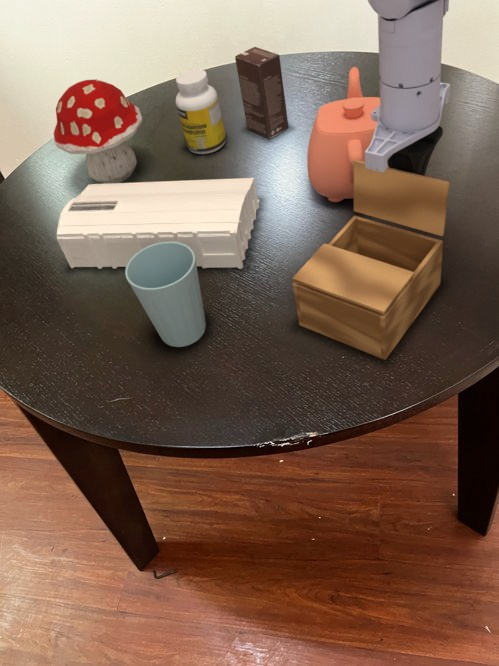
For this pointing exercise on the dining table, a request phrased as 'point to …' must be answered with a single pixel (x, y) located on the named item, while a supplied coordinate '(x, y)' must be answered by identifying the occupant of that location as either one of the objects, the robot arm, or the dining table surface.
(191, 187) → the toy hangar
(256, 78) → the box
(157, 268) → the cup
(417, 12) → the robot arm
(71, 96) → the decorative mushroom
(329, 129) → the teapot
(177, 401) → the dining table surface
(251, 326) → the dining table surface
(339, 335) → the wooden box
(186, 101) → the pill bottle
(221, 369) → the dining table surface
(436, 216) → the flap
